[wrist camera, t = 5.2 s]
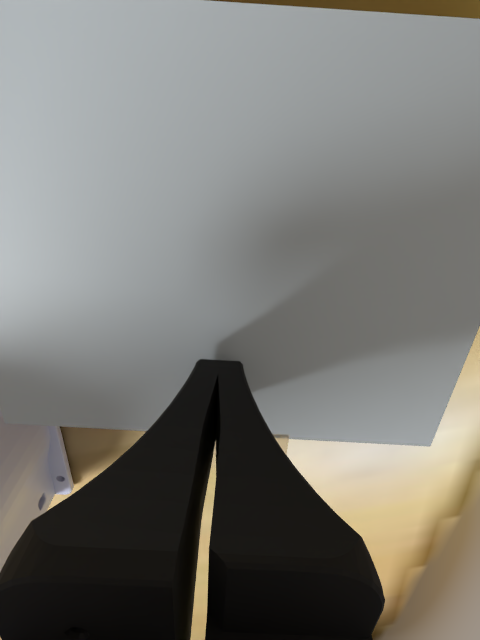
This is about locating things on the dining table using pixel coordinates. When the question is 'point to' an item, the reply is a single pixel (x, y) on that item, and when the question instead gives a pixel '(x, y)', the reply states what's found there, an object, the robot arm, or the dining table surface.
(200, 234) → the grey flat panel
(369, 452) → the dining table surface
